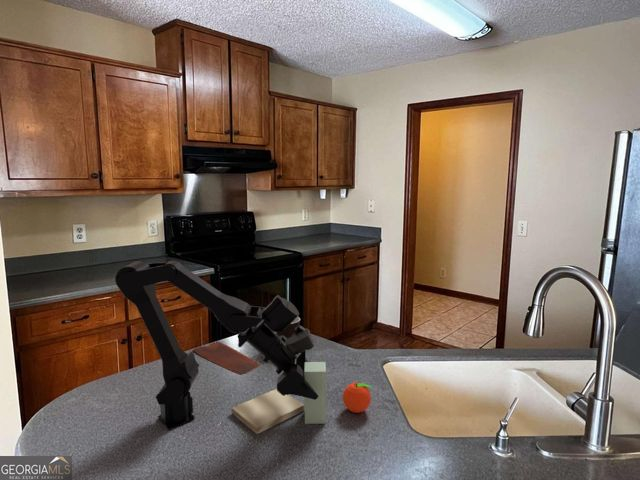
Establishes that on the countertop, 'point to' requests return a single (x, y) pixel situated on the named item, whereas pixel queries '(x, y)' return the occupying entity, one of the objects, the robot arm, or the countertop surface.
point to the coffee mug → (290, 329)
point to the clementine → (357, 397)
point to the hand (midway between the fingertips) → (316, 387)
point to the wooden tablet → (227, 357)
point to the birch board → (267, 410)
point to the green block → (317, 381)
